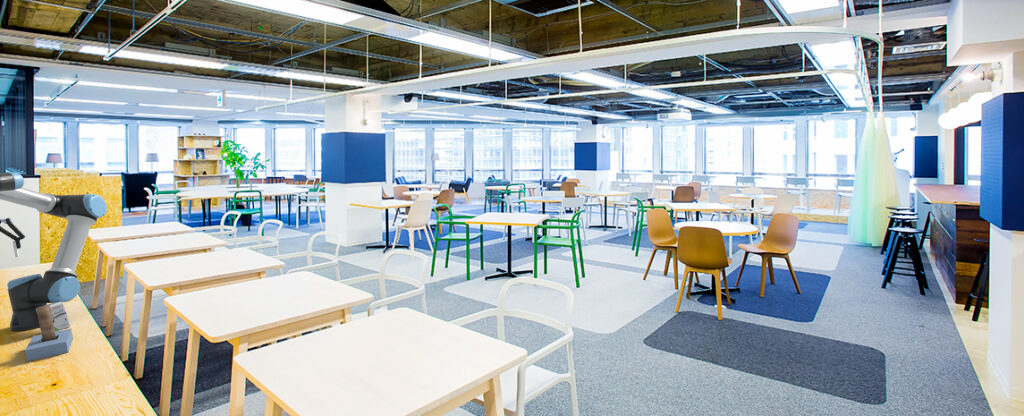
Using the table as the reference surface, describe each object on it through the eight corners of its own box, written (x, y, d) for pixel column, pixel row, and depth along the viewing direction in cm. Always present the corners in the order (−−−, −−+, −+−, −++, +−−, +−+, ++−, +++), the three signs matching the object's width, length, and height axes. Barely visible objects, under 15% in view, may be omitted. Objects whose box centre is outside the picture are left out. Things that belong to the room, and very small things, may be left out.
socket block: (34, 346, 206) (32, 336, 206) (73, 338, 213) (71, 328, 212) (26, 361, 192) (24, 350, 191) (68, 352, 199) (66, 341, 198)
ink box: (46, 334, 220) (38, 310, 217) (43, 332, 223) (34, 308, 220) (71, 326, 227) (63, 302, 224) (67, 323, 230) (59, 300, 227)
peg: (45, 349, 203) (37, 307, 200) (58, 346, 205) (50, 304, 203) (44, 352, 200) (35, 309, 197) (57, 349, 202) (49, 307, 199)
